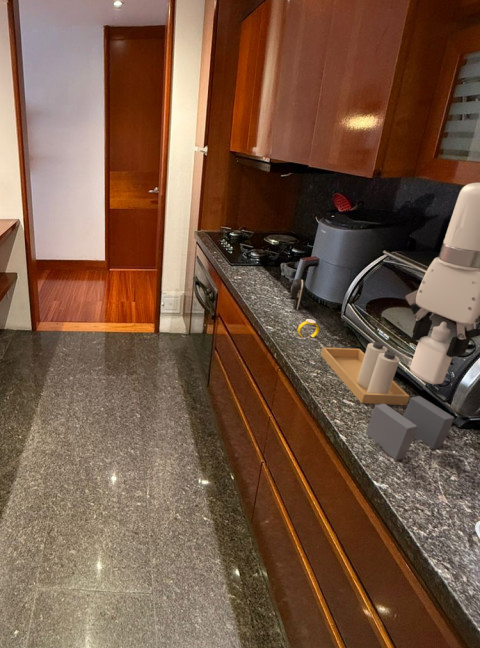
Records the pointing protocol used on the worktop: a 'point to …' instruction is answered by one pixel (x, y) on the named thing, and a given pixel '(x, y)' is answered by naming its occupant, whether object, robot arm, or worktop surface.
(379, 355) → the white bottles
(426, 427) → the grey rectangular blocks
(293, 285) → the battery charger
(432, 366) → the eye dropper bottle
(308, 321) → the watch
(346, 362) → the tray
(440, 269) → the robot arm
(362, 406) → the worktop surface
